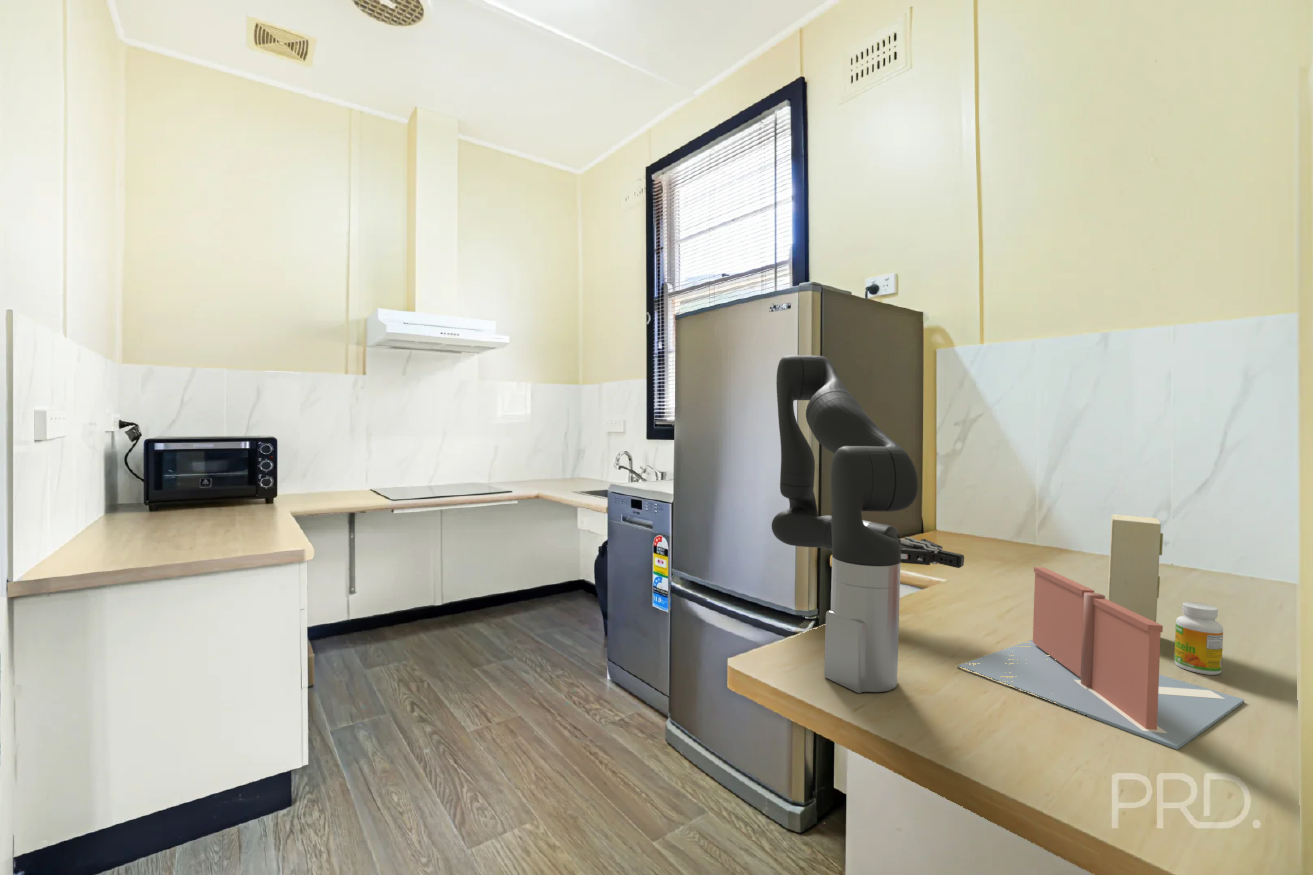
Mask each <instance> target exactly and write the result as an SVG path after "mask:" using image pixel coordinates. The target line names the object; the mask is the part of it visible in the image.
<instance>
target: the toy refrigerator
mask: <svg viewBox="0 0 1313 875" xmlns="http://www.w3.org/2000/svg"><path fill="white" fill-rule="evenodd" d="M1110 524H1111V525H1110V543H1109V544H1110V545H1109V564H1108V583H1107V584H1108V588H1107V600H1109V601H1111V602H1113V603H1116V604H1118V605H1120V606H1122V607H1124V608H1126V609H1128V610H1131V611H1133V612H1135V613H1137V614H1139V615H1141V616H1143V617H1145V618H1148V619H1150V620H1152V621H1154V622H1156V623H1157V617H1158V616H1157V613H1158V612H1157V611H1158V599H1159V597H1160V596H1159V595H1160V585H1161V582H1160V581H1161V576H1160V574H1159V571H1160V570H1159V568H1160V556H1162V555H1163V544H1164V543H1163V542H1164V533H1163V532H1161V531H1162V530H1161V528H1162V523H1161V522H1160V519H1158V518H1157V517H1147V516H1139V515H1138V516H1137V515H1136V516H1135V515H1125V514H1111V523H1110Z"/></svg>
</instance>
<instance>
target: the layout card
mask: <svg viewBox="0 0 1313 875" xmlns="http://www.w3.org/2000/svg"><path fill="white" fill-rule="evenodd" d="M1027 642H1031V643H1025V642H1022V643H1019V644H1016V645H1013V646H1010V647H1007V648H1004V649H1002V650H999V651H995V652H993V653H990V654H986V655H984V656H981V657H979V658H975V659H976V660H975V659H972V660H968V661H967V662H963V663H961V664H958V665H957V667H958V666H959V667H962V668H966V669H968V670H970V671H972V672H977V673H979V674H981V675H984V676H987V677H989V678H992V679H993V680H996V681H1001V682H1003V681H1004V682H1003V683H1006V684H1008V685H1012V686H1014V687H1015V688H1017V689H1021V690H1023V691H1026V692H1029V693H1033V694H1035V695H1037V696H1039V697H1041V698H1045V699H1047V700H1050V701H1052V702H1056V703H1057V704H1059V705H1061V706H1065V707H1067V708H1069V709H1071V710H1070V711H1072V710H1076V711H1077V712H1079V713H1078V714H1080V713H1081V714H1080V715H1082V714H1083V715H1082V716H1085V715H1087V716H1086V717H1089V718H1091V719H1094V720H1096V721H1099V722H1101V723H1104V724H1106V725H1110V726H1112V727H1115V728H1118V729H1120V730H1123V731H1126V732H1128V733H1131V734H1133V735H1136V736H1139V737H1141V738H1145V739H1147V740H1150V741H1152V742H1155V743H1156V744H1157V743H1158V744H1160V745H1164V746H1165V747H1169V748H1171V749H1174V750H1176V751H1177V750H1180V749H1181V748H1182V747H1184V746H1185V745H1186V744H1188V743H1189V742H1190V741H1192V740H1193V739H1195V738H1196V737H1198V736H1199V735H1201V734H1202V733H1203V732H1205V731H1206V730H1207V729H1208V728H1210V727H1212V726H1213V725H1214V724H1215V723H1217V722H1219V721H1220V720H1221V719H1223V718H1224V717H1226V716H1228V714H1230V713H1231V712H1233V711H1234V710H1235V709H1237V708H1239V707H1240V706H1241V705H1243V704H1244V703H1245V699H1244V698H1240V697H1237V696H1234V695H1230V694H1227V693H1224V692H1220V691H1217V690H1215V689H1214V690H1213V689H1211V688H1207V687H1203V686H1200V685H1197V684H1194V683H1190V682H1186V681H1183V680H1179V679H1176V678H1173V677H1169V676H1166V675H1163V674H1160V673H1159V689H1158V715H1157V730H1154V729H1145V728H1144V727H1143V726H1141V725H1140V724H1139V723H1137V722H1136V721H1135V720H1133V719H1132V718H1131V717H1129V716H1128V715H1127V714H1125V713H1124V712H1123V711H1121V710H1120V709H1119V708H1117V707H1116V706H1114V705H1113V704H1112V703H1110V702H1109V701H1108V700H1106V699H1105V698H1104V697H1102V696H1101V695H1100V694H1098V693H1097V692H1096V691H1094V690H1093V689H1092V688H1089V687H1086V686H1084V685H1082V684H1081V678H1080V677H1079V676H1078V675H1076V674H1075V673H1073V672H1072V671H1071V670H1069V669H1068V668H1067V667H1065V666H1064V665H1063V664H1061V663H1060V662H1059V661H1057V660H1055V659H1054V658H1053V657H1052V656H1046V655H1049V654H1048V653H1046V652H1045V651H1044V650H1042V649H1041V648H1040V647H1038V646H1037V645H1035V644H1034V643H1033V639H1031V640H1028V641H1027ZM1017 646H1018V647H1017ZM1019 646H1031V647H1019ZM1012 651H1013V652H1012ZM1009 655H1010V656H1009ZM1011 655H1014V656H1011ZM1008 659H1011V660H1008ZM1012 659H1014V660H1012ZM1017 659H1018V660H1017ZM1026 659H1027V660H1026ZM1046 659H1048V660H1046ZM965 663H967V664H965ZM969 663H971V665H969ZM972 663H976V665H974V666H973V664H972ZM977 663H980V664H977ZM1005 663H1007V664H1005ZM1009 663H1014V664H1010V665H1009ZM1017 663H1018V664H1017ZM1026 663H1027V664H1026ZM1056 663H1057V664H1056ZM1005 672H1006V673H1005ZM1009 672H1011V673H1009ZM1000 676H1014V677H1013V678H1009V677H1008V678H1006V677H1000ZM1015 676H1017V677H1015ZM1005 681H1006V682H1005ZM1007 681H1008V682H1007ZM1011 681H1013V682H1011ZM1052 693H1053V694H1052ZM1243 702H1244V703H1243ZM1061 706H1060V707H1061ZM1069 709H1068V710H1069ZM1232 710H1233V711H1232ZM1077 712H1076V713H1077ZM1225 715H1226V716H1225Z"/></svg>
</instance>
